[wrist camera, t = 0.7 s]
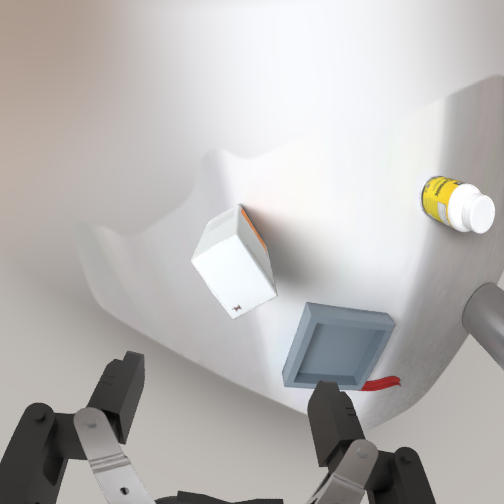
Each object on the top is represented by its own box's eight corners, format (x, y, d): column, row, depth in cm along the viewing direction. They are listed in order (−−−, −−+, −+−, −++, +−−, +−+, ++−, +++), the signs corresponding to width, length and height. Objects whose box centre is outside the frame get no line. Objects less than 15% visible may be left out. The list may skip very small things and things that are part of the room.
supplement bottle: (443, 168, 31) (495, 181, 22) (453, 206, 33) (501, 228, 24) (412, 184, 32) (462, 201, 23) (423, 223, 34) (470, 249, 24)
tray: (386, 313, 38) (395, 324, 35) (355, 377, 42) (360, 390, 39) (306, 302, 37) (311, 315, 34) (281, 372, 41) (284, 386, 38)
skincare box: (268, 245, 34) (280, 298, 23) (235, 264, 35) (232, 322, 23) (239, 200, 32) (237, 232, 21) (206, 220, 33) (187, 262, 22)
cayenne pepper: (407, 377, 44) (412, 384, 42) (391, 395, 45) (395, 402, 43) (359, 364, 41) (363, 372, 40) (342, 384, 43) (345, 392, 41)
